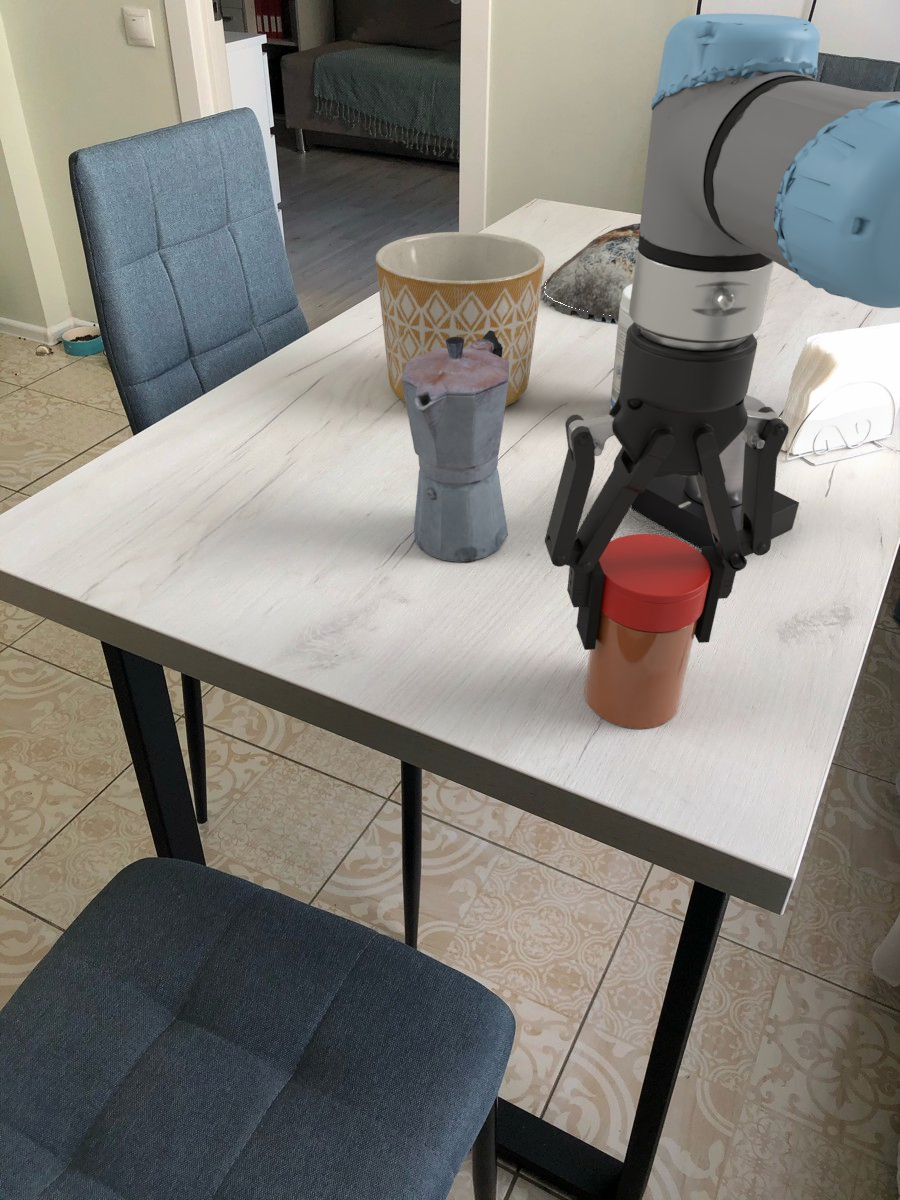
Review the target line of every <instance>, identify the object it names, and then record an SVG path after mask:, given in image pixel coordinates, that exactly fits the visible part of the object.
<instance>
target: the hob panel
mask: <svg viewBox="0 0 900 1200" xmlns="http://www.w3.org/2000/svg"><path fill="white" fill-rule="evenodd" d="M685 481H686V476H684V475H679V474H671V475H667V476H664V477H653V478H652V479H651V481H650V483H649V484H648V486H647V488H646V489H645V491H644V492H640V493H639V494H638V495H637V497H636V499H635V500H634V502H633V504H632V505H631V507H630V509H632V510H633V511H635V512H638V513H639V514H641V516H643V517H646V518H647V519H649V520H651V521H652V522H654V523H656V524H658V525H659V526H661V527H663V528H664V529H666V530H668V531H669V532H671V533H673V534H674V535H677V536H678V537H680V538H681V539H683V540H685V541H686V542H689V543H690V544H691V545H694V547H696V548H699V549H700V550H701V548H702V547H703V546H713V548H714V550H715V547H716V544H715V543H714V540H713V536H712V533H711V529H710V526H709V522H708V518H707V515H706V511H705V508H704V504H702V503H699V502H697V501H695V500H693V499H692V498H691V497H689V496H688V495H687V493H686V492H685ZM799 505H800V502H799V501H797V500H795V499H793V498H791V497H789V496H787V495H785V494H783V493H781V492H779V491H777V490H775V493H774V507H773V520H772V534H771V540H773V539H775V538H777V537H779V536H781V535H783V534H785V533H787V532H789V531H791V530H793V529H794V528H793V527H794V524H795V521H796V517H797V512H798V510H799ZM741 509H742V503H741V504H739V505H736V506H732V507H731V510H732V514H733V518H734V522H735V526H736V530H737V531H738V530H740V529H741Z"/></svg>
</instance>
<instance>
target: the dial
mask: <svg viewBox="0 0 900 1200" xmlns="http://www.w3.org/2000/svg"><path fill="white" fill-rule="evenodd" d="M744 406H745V409H746V410H750V411H756V412H758V410H760V409H761V408H763V407H767V405H766V404H765V403H764V402H763V401H761V400H760V399H758V398H756V397H753V396H751V395H747V394H746V395H745V397H744ZM742 433H743V431H742V432H741V433H740V434H739V435H738V436H737V437H736V438H735V439H734V440H733V441H732V442H731V443H730V445H729V446H728V447H727V448H726V449H725V450H724V451H723V452H722V453H721V454H720V455H719V457H720V461H721V464H722V468H723V472H724V476H725V487H726V491H727V495H728V498H729V502H730V506H731V507H732V506H736V505H739V504H741V503H742V489H743V469H744V450H745V442H746V441H745V440H744V439H743V437H742ZM685 492H686V493H687V495H688V496H689V497H691V498H692V499H693V500H695V501H697V502H699V503H702V504H703V500H702V497H701V493H700V490H699V486H698V482H697V479H696V475H695V476H686V481H685Z"/></svg>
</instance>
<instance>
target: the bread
mask: <svg viewBox="0 0 900 1200" xmlns="http://www.w3.org/2000/svg"><path fill="white" fill-rule="evenodd" d="M639 236H640V222H639V223H634V224H629V225H625V226H620V227H618V228H617V227H616V228H613V229H612V230H609V231H607V232H605V233H603V234H601V235H599V236H596V237H595V238H594V239H592V241H590V242H589V243H588V244H587V245H586V246H584V247H583V248H581V250H579V251H578V252H576V253H575V255H573V256H572V257H571V258H569V259H568V260H567V261H565V262H564V263H563V264H561V265H560V267H559V268H557V269H556V270H555V271H554V272H552V273H551V275H550V276H549V277H548V278H547V279H546V280H545V281H544V283H543V284H542V285H541V292H540V299H539V300H541V299H543V298H544V299H543V301H542V302H543V303H546V304H547V305H548V306H550V305H552V304H554V305H555V307H554V310H556V312H559V313H561V314H564V315H568V316H569V315H570V316H571V315H572V311H573V312H575V313H576V314H577V315H578V316H579V318H581V319H586V320H587V319H588V318H589V315H592V316H593V319H594V321H596V322H602V319H603V318H604V319H605V323H608V324H611V323H612V319H613V320H614V322H615V324H616V325H618V319H619V309H620V302H621V300H622V293H623V290H624V288H626V287H627V286H629V285H631V284H633V278H634V270H635V263H636V256H637V249H638V244H639ZM546 281H547V282H546ZM545 283H546V285H545ZM545 286H546V289H545V288H544V287H545ZM544 291H545V293H546V294H547V295H548V296H549V297H551V298H553V300H555V301H558V302H561V303H563V304H565V305H567V306H565V305H563V304H560V303H558V302H555V301H553V300H552V299H551V298H549V297H547V295H545V293H544ZM546 300H547V301H546ZM568 306H570V307H568ZM571 307H573V308H571ZM575 308H576V309H575ZM579 309H580V310H579ZM583 310H584V311H583ZM587 311H588V312H587ZM603 314H604V315H603ZM609 315H611V316H609Z"/></svg>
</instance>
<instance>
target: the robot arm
mask: <svg viewBox="0 0 900 1200" xmlns="http://www.w3.org/2000/svg"><path fill="white" fill-rule="evenodd" d="M820 36H821V35H820V32H819V30H818V28H817V27H816V26H815V24H814V23H812V22H811V21H809V20H807V19H805V18H801V17H796V16H788V15H778V14H762V13H761V14H760V13H726V12H725V13H703V14H694V15H690V16H686V17H684V18H681V19H680V20H678V21H677V22H676V23H675V24H674V25H672V27H671V28H670V29H669V31H668V33H667V35H666V37H665V40H664V45H663V52H662V58H661V63H660V70H659V76H658V81H657V88H656V93H655V94H654V97H652V100H651V105H650V106H651V111H652V114H651V122H650V129H649V130H650V131H649V138H648V139H649V140H648V150H647V157H646V158H647V159H646V168H645V169H646V170H645V177H644V185H643V195H642V204H641V212H640V213H641V214H640V221H639V223H640V236H639V244H638V249H637V256H636V263H635V270H634V278H633V285H632V292H631V299H630V306H629V316H630V317H631V319H632V320H633V321H634V323H633V324H632V325H631V326H630V327H629V328H628V330H627V334H626V342H625V350H624V358H623V366H622V374H621V382H620V393H619V397H618V399H617V401H616V403H615V404H614V406H613V407H612V409H611V410H610V411H609V413H608V414H607V415H603V416H598V417H593V418H588V419H584V417H583V416H582V415H580V414H578V413H577V414H571V415H569V416H568V417H567V418H566V420H565V425H564V427H565V433H566V442H567V452H566V455H565V460H564V462H563V463H564V464H563V467H562V471H561V475H560V478H559V483H558V487H557V491H556V494H555V498H554V502H553V506H552V509H551V514H550V517H549V521H548V525H547V529H546V533H545V536H544V543H545V547H546V550H547V553H548V556H549V558H550V561H551V564H552V565H553V566H555V567H558V568H561V567H564V566H568V567H569V568H568V580H567V589H566V591H567V593H568V596H569V599H570V603H571V604H572V607H573V608H578V611H577V619H576V628H577V632H578V635H579V638H580V640H581V643H582V646H583V649H584V651H590V650H592V649H595V646H596V638H597V630H598V623H599V615H600V607H601V599H602V592H603V584H604V576H605V574H604V571H603V569H602V567H601V564H600V562H599V559H600V557H601V556H602V554H603V552H604V551H605V549H606V547H607V545H608V544H609V542H610V541H612V540H613V537H614V536H615V534H616V532H617V531H618V529H619V527H620V525H621V524H622V522H623V520H624V519H625V517H626V515H628V512H629V510H630V509H631V506H632V504H633V502H634V500H635V499H636V497H637V495H638V494H639V493H640V492H644V491H645V489H646V488H647V486H648V484H649V483H650V481H651V479H652V478H653V477H664V476H667V475H671V474H679V475H684V476H695V475H696V479H697V482H698V486H699V490H700V493H701V497H702V500H703V504H704V508H705V511H706V515H707V518H708V522H709V526H710V529H711V533H712V536H713V540H714V543H715V544H716V547H715V550H714V548H713V546H703V547H702V548H701V549H700V552H701V553H702V554H703V555H704V556H705V558H706V559H707V561H708V563H709V565H710V569H711V574H710V579H709V584H708V588H707V593H706V598H705V603H704V607H703V611H702V613H701V615H700V617H699V618H698V619H697V624H696V629H695V634H694V637H695V638H696V640H697V642H698V643H699V644H702V643H705V644H706V643H710V640H711V634H712V631H713V626H714V621H715V616H716V613H717V608H718V603H719V600H720V599H728V598H729V596H730V595H731V594H732V592H733V591H732V590H733V587H734V582H735V577H736V573H737V572H740V571H742V570H744V569H745V568H746V566H747V565H748V560H747V559H746V557H748V556H750V555H752V554H754V555H755V556H764V555H766V554H768V553H769V551H770V550H771V546H772V539H771V534H772V520H773V507H774V493H775V491H776V481H777V480H776V478H777V465H778V457H779V454H780V452H781V450H782V447H783V446H784V443H785V441H786V439H787V436H788V434H789V431H790V429H789V426H788V425H787V424H786V423H785V422H784V420H783V418H782V417H780V416H779V415H778V413H776V411H775V410H774V409H773V408H772V407H771V406H766V407H763V408H761V409H760V410H758V412H756V411H750V410H746V409H745V406H744V397H745V395H747V394H748V391H749V386H750V381H751V376H752V371H753V367H754V362H755V358H756V352H757V348H758V341H757V338H756V337H755V335H754V333H756V332H757V331H759V329H760V327H761V326H762V322H763V317H764V313H765V308H766V303H767V299H768V294H769V289H770V284H771V279H772V275H773V270H774V266H775V263H776V264H778V265H779V266H782V267H783V268H785V269H787V270H788V271H790V272H792V273H793V274H796V275H797V276H798V277H799V278H800V279H801V280H802V281H807V283H808V284H809V285H810V286H812V287H813V288H815V289H823V290H824V291H825V292H826V293H827V294H829V295H831V296H832V295H833V296H836V297H841V298H847V299H849V300H852V301H855V302H858V303H859V304H860V303H861V304H863V305H866V306H869V307H874V308H879V309H897V308H900V91H871V90H870V91H869V90H861V89H856V88H855V89H854V88H849V87H845V86H840V85H835V84H830V83H824V82H821V81H818V80H817V76H818V73H819V69H818V63H819V61H818V60H819V50H820V41H821V37H820ZM742 431H743V433H742V437H743V439H744V440H745V441H746V442H745V450H744V469H743V489H742V509H741V529H740V530H738V531H737V530H736V526H735V522H734V518H733V514H732V510H731V506H730V502H729V498H728V495H727V491H726V487H725V476H724V472H723V468H722V464H721V461H720V457H719V455H720V454H721V453H722V452H723V451H724V450H725V449H726V448H727V447H728V446H729V445H730V443H731V442H732V441H733V440H734V439H735V438H736V437H737V436H738V435H739V434H740V433H741V432H742ZM613 436H614V437H615V438H616V439H617V441H618V442H619V444H620V445H621V448H620V450H619V451H618V453H617V455H616V456H615V459H614V461H613V469H612V470H611V472H610V474H609V476H608V478H607V479H606V481H605V482H604V485H603V486H602V488H601V490H600V491H599V493H598V495H597V497H596V498H595V500H594V502H593V504H592V506H591V507H590V509H589V510H588V512H587V514H586V516H585V518H584V519H583V521H582V523H581V519H582V516H583V513H584V508H585V505H586V502H587V497H588V495H589V491H590V487H591V484H592V480H593V477H594V472H595V467H596V457H599V456H601V455H602V453H603V451H604V449H605V444H606V442H607V440H608V439H610V438H611V437H613ZM580 523H581V525H580Z"/></svg>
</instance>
